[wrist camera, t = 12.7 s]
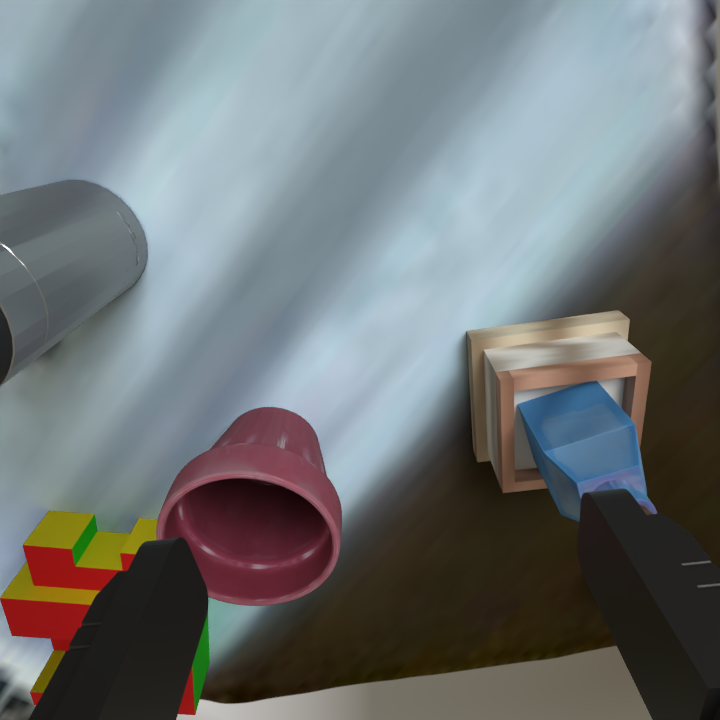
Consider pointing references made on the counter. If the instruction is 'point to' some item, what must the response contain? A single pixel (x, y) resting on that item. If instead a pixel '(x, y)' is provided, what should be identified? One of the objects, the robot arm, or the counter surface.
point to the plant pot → (258, 511)
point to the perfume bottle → (584, 446)
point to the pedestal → (546, 382)
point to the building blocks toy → (78, 588)
